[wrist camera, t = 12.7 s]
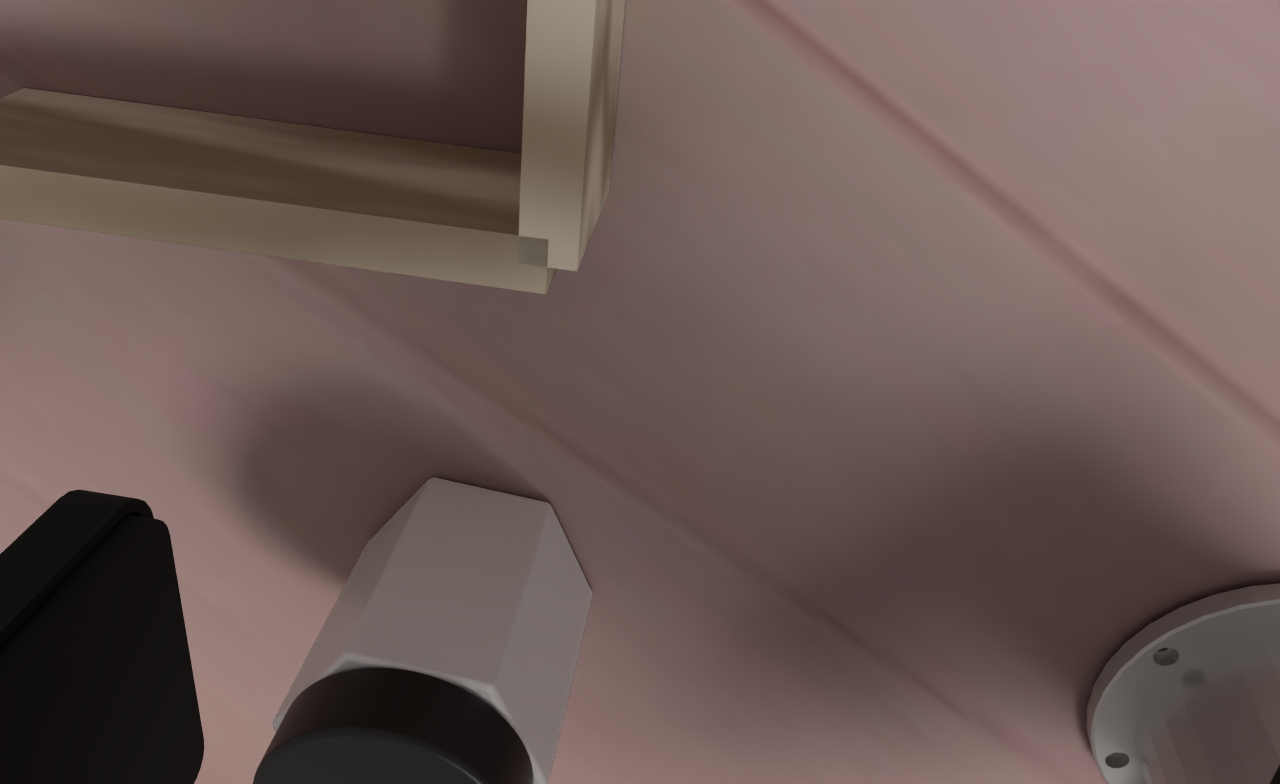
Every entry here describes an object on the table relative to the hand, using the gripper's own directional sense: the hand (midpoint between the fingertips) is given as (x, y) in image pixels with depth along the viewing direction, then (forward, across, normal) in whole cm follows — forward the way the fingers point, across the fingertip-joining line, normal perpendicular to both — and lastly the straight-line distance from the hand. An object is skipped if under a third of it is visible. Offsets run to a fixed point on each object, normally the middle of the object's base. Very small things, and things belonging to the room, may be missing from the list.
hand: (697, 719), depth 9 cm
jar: (+26, +9, +21) cm, 35 cm away
